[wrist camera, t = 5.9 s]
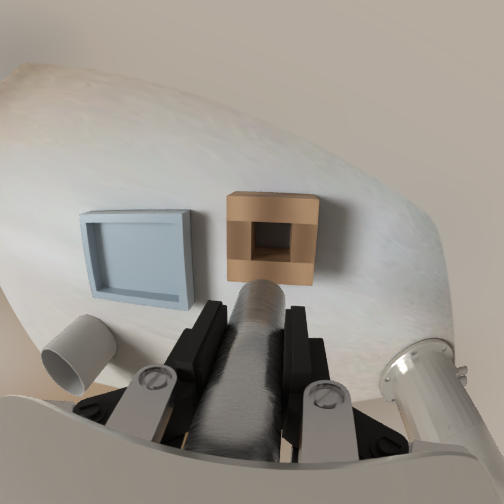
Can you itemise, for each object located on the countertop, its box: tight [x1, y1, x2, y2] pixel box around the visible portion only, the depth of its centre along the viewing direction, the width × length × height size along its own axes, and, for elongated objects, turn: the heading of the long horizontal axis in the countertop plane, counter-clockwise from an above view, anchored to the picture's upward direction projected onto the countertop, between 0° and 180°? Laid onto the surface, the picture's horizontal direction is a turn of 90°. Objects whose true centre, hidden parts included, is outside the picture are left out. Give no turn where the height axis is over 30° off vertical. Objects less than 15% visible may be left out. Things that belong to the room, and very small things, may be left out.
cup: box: [40, 314, 117, 396], centre depth 32 cm, size 8×8×10 cm
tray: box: [79, 210, 195, 311], centre depth 30 cm, size 14×11×2 cm
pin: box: [182, 279, 285, 462], centre depth 9 cm, size 2×2×10 cm
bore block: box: [227, 191, 319, 286], centre depth 26 cm, size 8×8×5 cm
